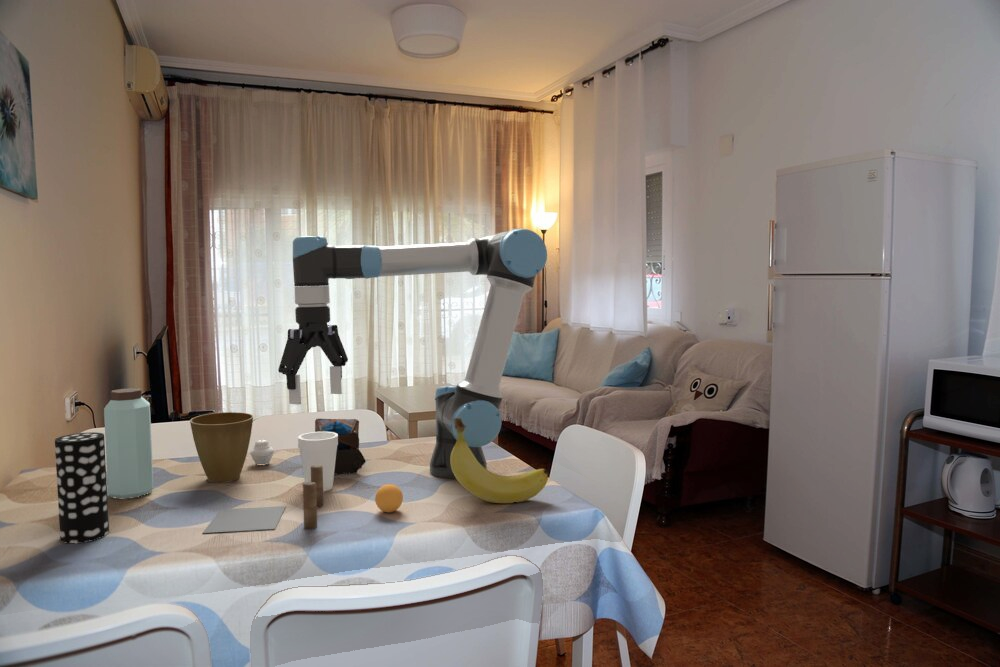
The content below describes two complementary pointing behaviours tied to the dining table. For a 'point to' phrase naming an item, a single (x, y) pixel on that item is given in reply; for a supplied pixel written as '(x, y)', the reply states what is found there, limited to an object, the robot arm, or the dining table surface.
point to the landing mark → (245, 519)
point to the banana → (492, 476)
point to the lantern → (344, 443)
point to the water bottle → (128, 444)
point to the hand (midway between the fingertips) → (316, 398)
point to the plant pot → (222, 443)
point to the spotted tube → (81, 487)
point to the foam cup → (319, 455)
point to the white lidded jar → (262, 452)
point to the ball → (389, 498)
